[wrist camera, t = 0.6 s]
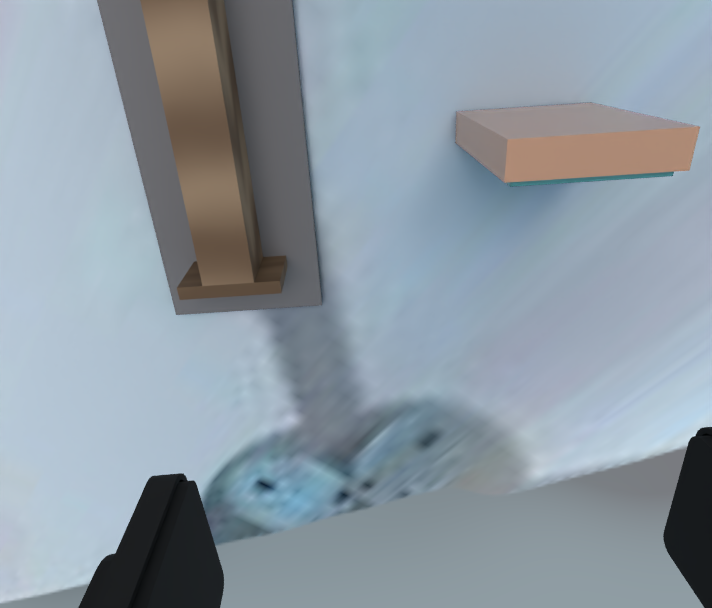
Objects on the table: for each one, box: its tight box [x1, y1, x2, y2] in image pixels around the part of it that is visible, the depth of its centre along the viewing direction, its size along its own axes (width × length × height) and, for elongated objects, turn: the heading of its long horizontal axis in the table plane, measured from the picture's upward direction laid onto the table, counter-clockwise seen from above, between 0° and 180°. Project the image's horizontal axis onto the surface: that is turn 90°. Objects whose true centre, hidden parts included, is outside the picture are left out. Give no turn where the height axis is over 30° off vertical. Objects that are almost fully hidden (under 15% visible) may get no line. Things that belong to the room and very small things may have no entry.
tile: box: [455, 103, 700, 187], centre depth 26 cm, size 2×8×10 cm, turn 94°
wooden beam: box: [140, 0, 287, 300], centre depth 27 cm, size 18×6×4 cm, turn 4°
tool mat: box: [97, 0, 322, 315], centre depth 29 cm, size 24×10×1 cm, turn 4°
